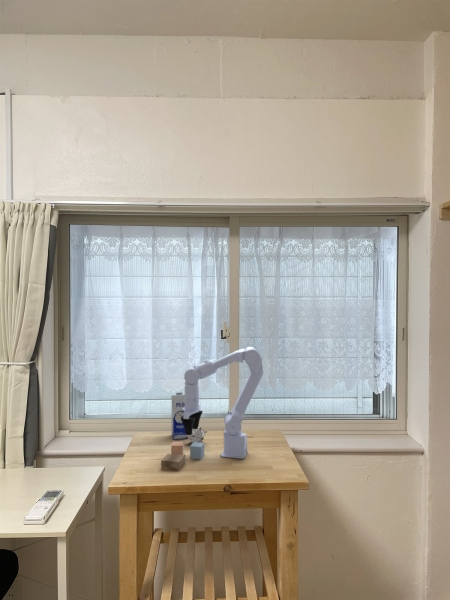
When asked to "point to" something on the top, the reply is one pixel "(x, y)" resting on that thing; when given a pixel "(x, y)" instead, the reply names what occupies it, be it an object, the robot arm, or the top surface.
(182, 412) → the milk carton
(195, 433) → the game die
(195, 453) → the slate block
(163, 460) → the walnut base
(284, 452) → the top surface
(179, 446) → the terracotta block
